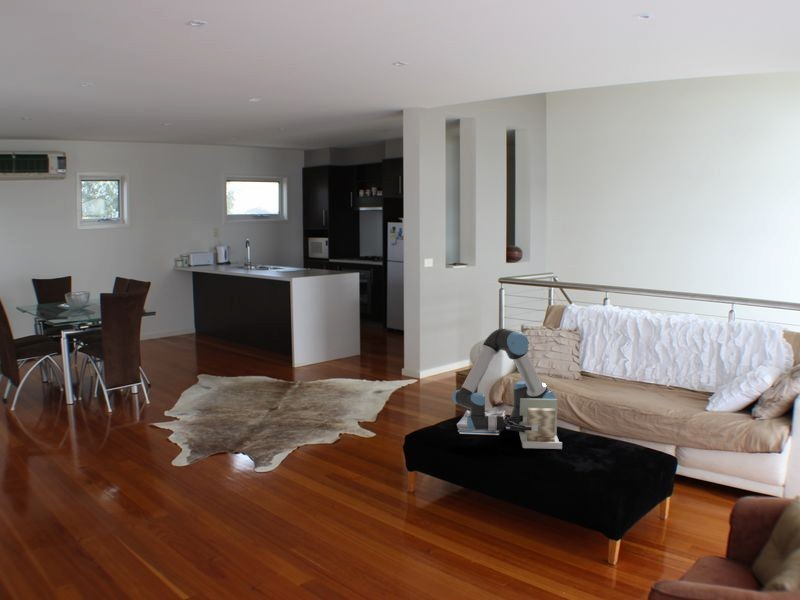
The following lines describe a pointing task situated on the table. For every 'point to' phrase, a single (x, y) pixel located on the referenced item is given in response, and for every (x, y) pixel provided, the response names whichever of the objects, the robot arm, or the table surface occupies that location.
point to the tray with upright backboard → (524, 405)
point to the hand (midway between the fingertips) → (536, 424)
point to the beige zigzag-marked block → (541, 422)
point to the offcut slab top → (545, 439)
